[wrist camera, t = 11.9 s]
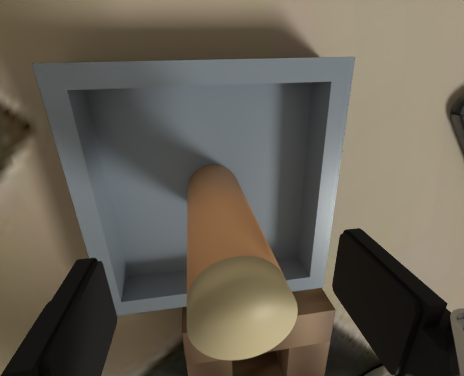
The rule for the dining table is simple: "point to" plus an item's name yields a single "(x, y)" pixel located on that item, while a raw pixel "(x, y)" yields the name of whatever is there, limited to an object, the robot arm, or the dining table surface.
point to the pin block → (285, 353)
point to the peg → (231, 273)
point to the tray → (197, 159)
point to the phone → (459, 119)
